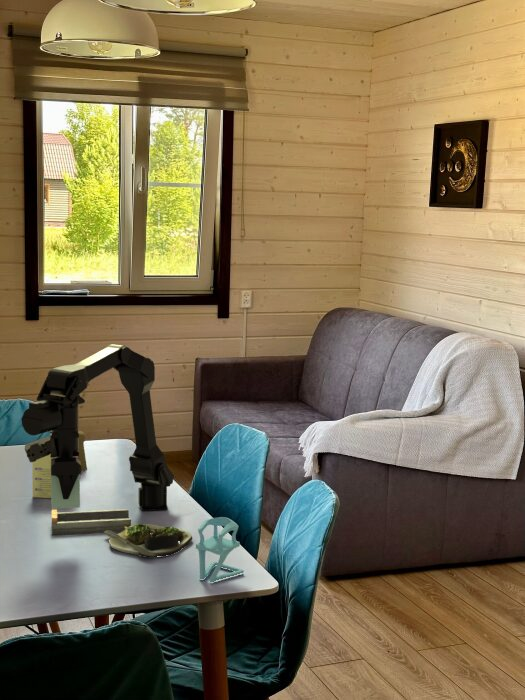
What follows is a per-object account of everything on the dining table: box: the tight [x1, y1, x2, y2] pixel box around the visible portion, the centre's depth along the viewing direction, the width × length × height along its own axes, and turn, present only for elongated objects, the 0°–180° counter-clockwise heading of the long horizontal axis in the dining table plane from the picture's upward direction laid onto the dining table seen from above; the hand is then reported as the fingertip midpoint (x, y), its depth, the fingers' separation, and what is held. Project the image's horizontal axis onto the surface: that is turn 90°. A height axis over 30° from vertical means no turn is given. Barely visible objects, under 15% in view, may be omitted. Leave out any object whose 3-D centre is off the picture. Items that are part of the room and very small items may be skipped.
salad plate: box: [103, 522, 193, 558], centre depth 206 cm, size 19×18×5 cm
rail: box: [51, 508, 132, 536], centre depth 216 cm, size 18×9×4 cm, turn 103°
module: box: [50, 474, 81, 510], centre depth 201 cm, size 6×4×8 cm
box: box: [31, 455, 78, 499], centre depth 237 cm, size 10×6×12 cm, turn 84°
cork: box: [78, 430, 88, 472], centre depth 262 cm, size 6×6×11 cm
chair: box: [195, 516, 245, 582], centre depth 188 cm, size 8×8×12 cm
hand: (65, 495), depth 201 cm, fingers closed on module, 4 cm apart
